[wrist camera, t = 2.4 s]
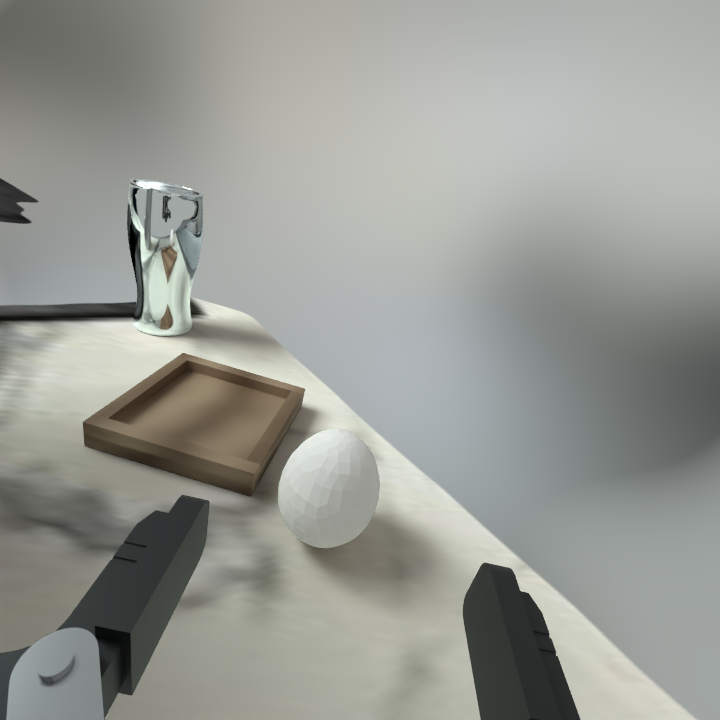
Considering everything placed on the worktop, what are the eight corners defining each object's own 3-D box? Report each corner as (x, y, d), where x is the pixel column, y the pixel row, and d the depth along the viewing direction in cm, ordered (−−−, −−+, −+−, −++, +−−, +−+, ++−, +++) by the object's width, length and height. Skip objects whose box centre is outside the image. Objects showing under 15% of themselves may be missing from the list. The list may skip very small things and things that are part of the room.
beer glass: (148, 308, 48) (149, 177, 42) (205, 321, 49) (215, 194, 43) (114, 328, 42) (110, 178, 36) (180, 343, 43) (187, 198, 36)
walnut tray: (84, 445, 27) (82, 421, 26) (182, 371, 38) (183, 352, 37) (250, 496, 27) (254, 473, 26) (301, 406, 38) (305, 388, 37)
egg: (249, 532, 24) (266, 433, 21) (309, 481, 29) (330, 395, 26) (328, 595, 22) (361, 495, 19) (379, 528, 27) (412, 440, 24)
